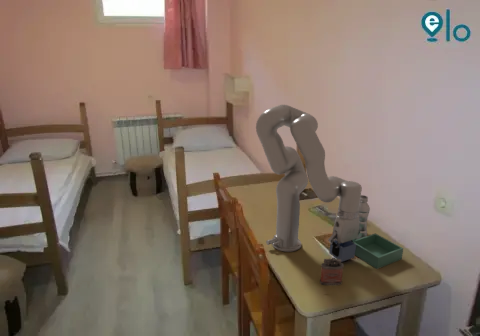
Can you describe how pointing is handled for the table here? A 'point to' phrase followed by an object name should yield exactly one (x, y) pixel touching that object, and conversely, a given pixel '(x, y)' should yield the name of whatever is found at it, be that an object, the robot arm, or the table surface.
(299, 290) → the table surface
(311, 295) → the table surface
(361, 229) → the plastic bottle
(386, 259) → the big crate
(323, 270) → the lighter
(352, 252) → the small crate
